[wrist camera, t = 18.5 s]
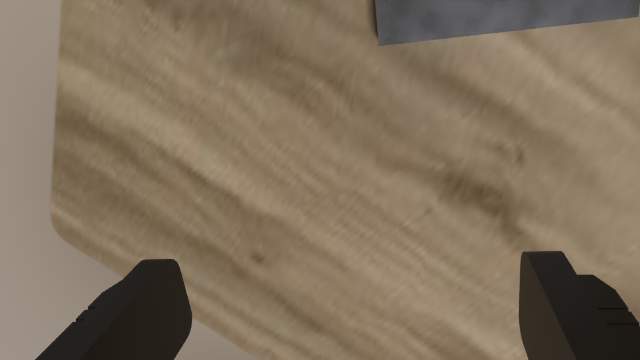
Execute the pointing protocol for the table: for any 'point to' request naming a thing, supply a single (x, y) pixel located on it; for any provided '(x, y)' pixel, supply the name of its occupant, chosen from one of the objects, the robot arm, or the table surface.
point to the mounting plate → (487, 16)
